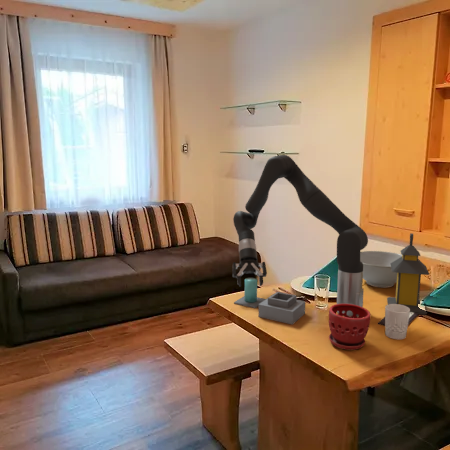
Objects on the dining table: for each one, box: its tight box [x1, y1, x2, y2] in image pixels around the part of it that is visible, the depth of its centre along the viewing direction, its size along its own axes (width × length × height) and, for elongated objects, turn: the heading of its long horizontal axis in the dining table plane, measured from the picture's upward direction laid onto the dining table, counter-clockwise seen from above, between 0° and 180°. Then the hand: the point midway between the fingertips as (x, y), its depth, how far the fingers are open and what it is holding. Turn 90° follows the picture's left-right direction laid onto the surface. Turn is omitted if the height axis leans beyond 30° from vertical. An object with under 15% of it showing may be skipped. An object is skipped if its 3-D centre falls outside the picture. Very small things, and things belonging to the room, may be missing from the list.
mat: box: [233, 295, 267, 309], centre depth 188 cm, size 10×10×1 cm
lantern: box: [386, 233, 430, 316], centre depth 179 cm, size 14×14×30 cm
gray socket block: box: [258, 291, 306, 325], centre depth 173 cm, size 14×12×8 cm
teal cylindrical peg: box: [243, 277, 258, 303], centre depth 187 cm, size 5×5×9 cm
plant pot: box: [328, 303, 371, 351], centre depth 148 cm, size 13×13×12 cm
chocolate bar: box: [377, 312, 419, 327], centre depth 169 cm, size 9×1×18 cm
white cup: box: [384, 303, 410, 340], centre depth 155 cm, size 8×8×10 cm
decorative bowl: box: [360, 250, 402, 289], centre depth 209 cm, size 27×27×12 cm
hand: (250, 285), depth 186 cm, fingers open, 8 cm apart
